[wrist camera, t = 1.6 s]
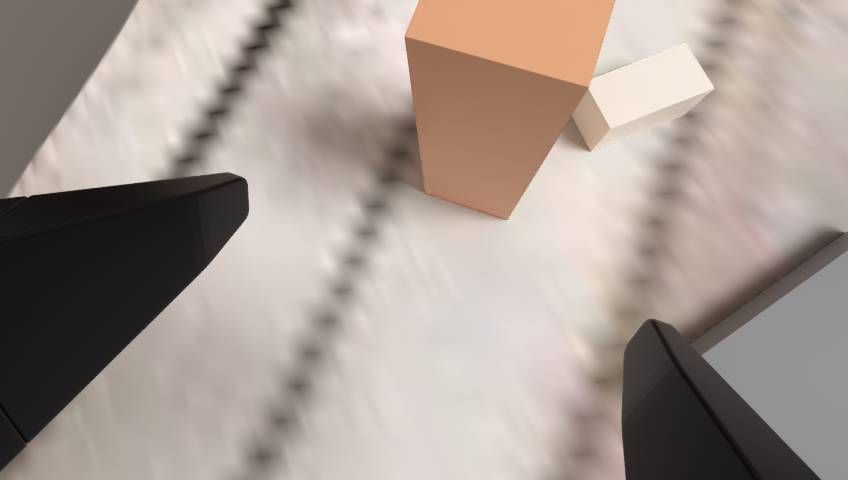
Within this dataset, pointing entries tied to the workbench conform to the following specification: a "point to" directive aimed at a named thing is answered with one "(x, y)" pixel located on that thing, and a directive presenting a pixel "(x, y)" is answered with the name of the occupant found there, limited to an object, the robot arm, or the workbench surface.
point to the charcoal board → (794, 358)
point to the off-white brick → (640, 96)
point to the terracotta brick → (497, 90)
